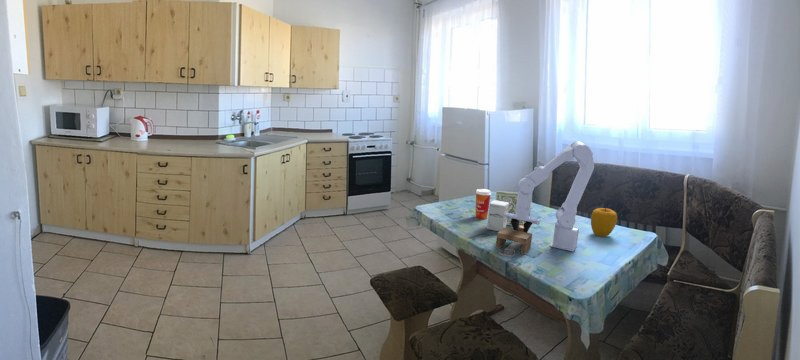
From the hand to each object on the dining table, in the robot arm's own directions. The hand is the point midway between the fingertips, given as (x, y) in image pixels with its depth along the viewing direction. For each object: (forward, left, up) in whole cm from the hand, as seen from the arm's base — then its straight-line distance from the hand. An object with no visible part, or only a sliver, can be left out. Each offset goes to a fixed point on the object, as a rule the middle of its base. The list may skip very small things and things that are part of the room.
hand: (520, 237), depth 192 cm
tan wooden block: (0, +5, -2) cm, 5 cm away
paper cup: (+26, -21, -2) cm, 34 cm away
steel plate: (0, +16, -3) cm, 16 cm away
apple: (-28, -32, -2) cm, 43 cm away
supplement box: (+14, -10, -2) cm, 18 cm away
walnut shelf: (0, +9, -2) cm, 9 cm away
